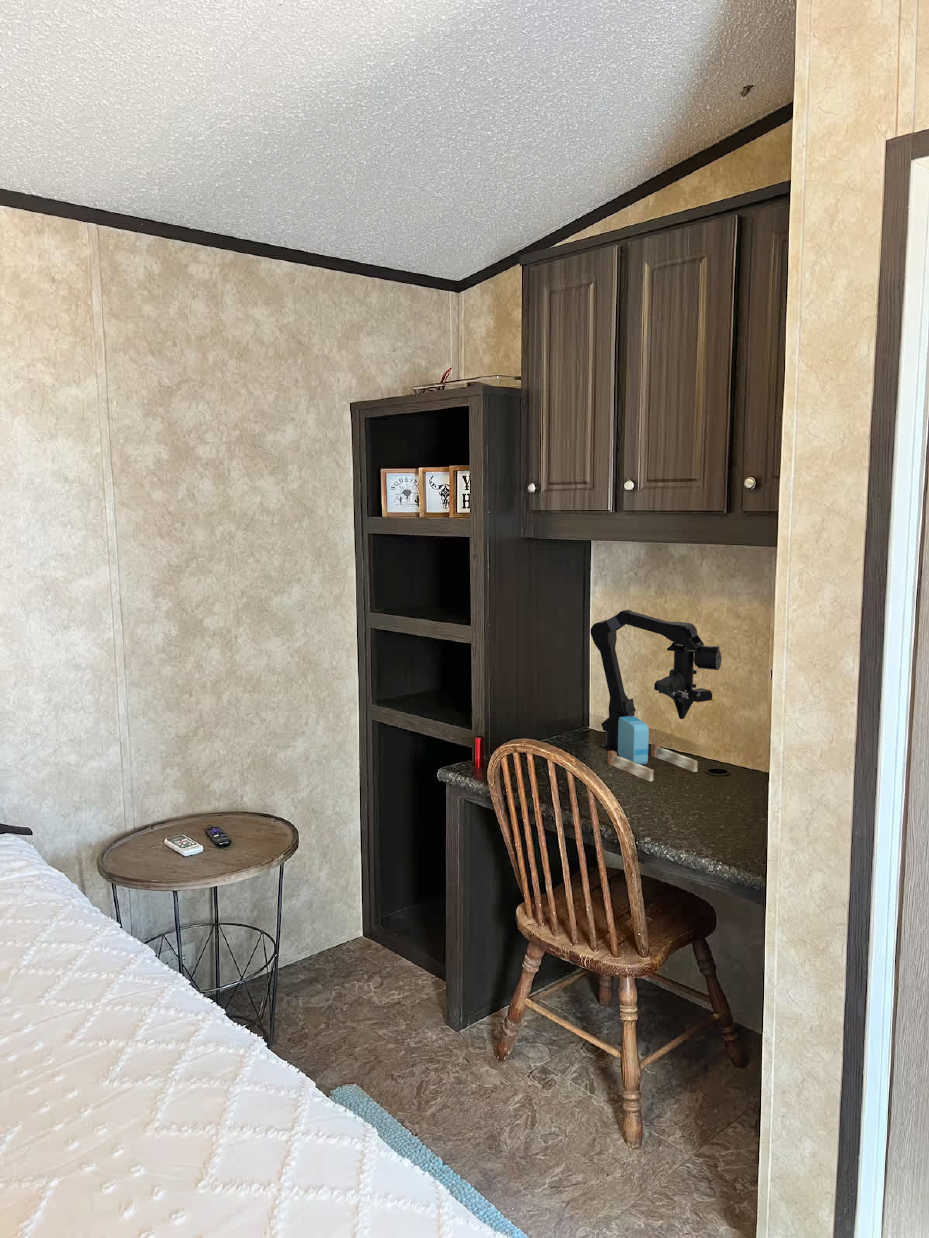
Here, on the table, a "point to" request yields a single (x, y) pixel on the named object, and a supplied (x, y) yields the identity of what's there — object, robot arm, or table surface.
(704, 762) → the table surface
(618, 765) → the bay
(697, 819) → the table surface
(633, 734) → the data package
